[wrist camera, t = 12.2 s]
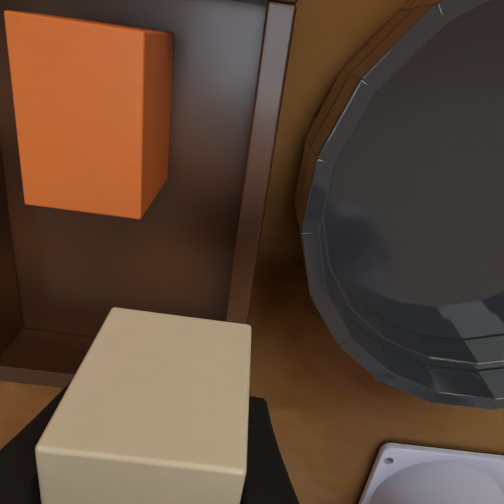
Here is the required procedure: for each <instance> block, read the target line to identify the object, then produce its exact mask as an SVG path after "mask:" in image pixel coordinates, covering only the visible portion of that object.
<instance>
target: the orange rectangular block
mask: <svg viewBox="0 0 504 504" xmlns="http://www.w3.org/2000/svg"><path fill="white" fill-rule="evenodd" d="M4 19H5V28H6V37H7V46H8V55H9V65H10V74H11V83H12V92H13V101H14V110H15V119H16V129H17V138H18V147H19V156H20V165H21V174H22V183H23V193H24V202H25V204H27V205H34V206H42V207H49V208H57V209H64V210H72V211H80V212H87V213H95V214H102V215H110V216H117V217H125V218H132V219H141V218H142V216H143V215H144V213H145V212H146V210H147V209H148V207H149V206H150V204H151V203H152V201H153V200H154V198H155V197H156V195H157V194H158V192H159V191H160V189H161V188H162V186H163V185H164V183H165V182H166V180H167V176H168V155H169V134H170V114H171V93H172V72H173V51H174V33H172V32H167V31H160V30H154V29H147V28H141V27H134V26H127V25H121V24H114V23H108V22H101V21H94V20H88V19H81V18H74V17H66V16H57V15H47V14H38V13H28V12H19V11H9V10H6V11H4Z"/></svg>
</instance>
